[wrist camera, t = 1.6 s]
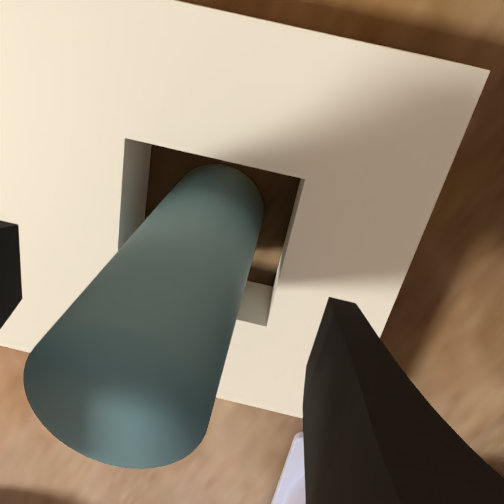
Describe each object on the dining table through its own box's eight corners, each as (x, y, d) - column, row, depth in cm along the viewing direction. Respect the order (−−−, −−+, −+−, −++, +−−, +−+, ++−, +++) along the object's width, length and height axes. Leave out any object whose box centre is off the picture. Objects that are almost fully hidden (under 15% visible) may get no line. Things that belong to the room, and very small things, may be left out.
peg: (273, 175, 15) (223, 351, 7) (254, 259, 16) (195, 485, 8) (178, 154, 15) (18, 303, 7) (167, 239, 16) (26, 444, 8)
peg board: (459, 62, 13) (490, 70, 10) (339, 379, 18) (342, 427, 16) (-286, -103, 13) (-409, -130, 11) (-182, 254, 19) (-250, 285, 16)
